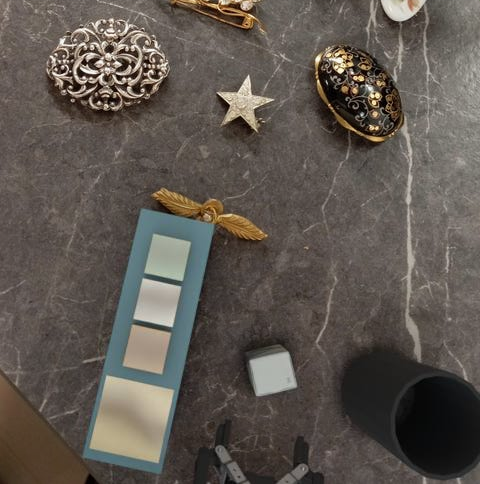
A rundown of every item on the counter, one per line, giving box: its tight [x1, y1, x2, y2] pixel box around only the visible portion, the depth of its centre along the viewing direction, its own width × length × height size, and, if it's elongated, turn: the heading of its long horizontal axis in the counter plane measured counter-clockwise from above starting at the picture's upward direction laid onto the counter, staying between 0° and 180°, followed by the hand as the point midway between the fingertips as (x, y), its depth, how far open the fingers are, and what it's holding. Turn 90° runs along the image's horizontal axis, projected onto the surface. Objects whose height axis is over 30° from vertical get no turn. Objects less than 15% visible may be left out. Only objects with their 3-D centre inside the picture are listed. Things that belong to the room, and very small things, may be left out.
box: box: [244, 343, 298, 397], centre depth 113 cm, size 5×4×13 cm
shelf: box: [81, 207, 216, 475], centre depth 106 cm, size 25×8×28 cm, turn 168°
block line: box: [89, 233, 191, 463], centre depth 90 cm, size 22×7×4 cm, turn 168°
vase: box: [340, 350, 480, 482], centre depth 104 cm, size 10×10×30 cm
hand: (263, 432), depth 105 cm, fingers open, 8 cm apart
